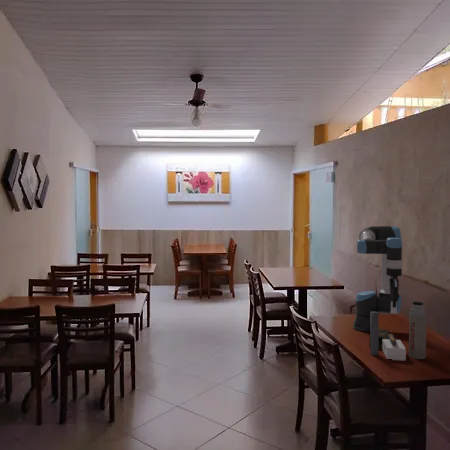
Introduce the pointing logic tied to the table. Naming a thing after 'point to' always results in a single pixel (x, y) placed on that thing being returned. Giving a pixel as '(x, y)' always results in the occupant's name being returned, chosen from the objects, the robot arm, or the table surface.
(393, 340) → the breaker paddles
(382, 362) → the table surface
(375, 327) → the post
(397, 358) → the breaker box
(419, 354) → the thermos bottle
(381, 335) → the beverage carton
